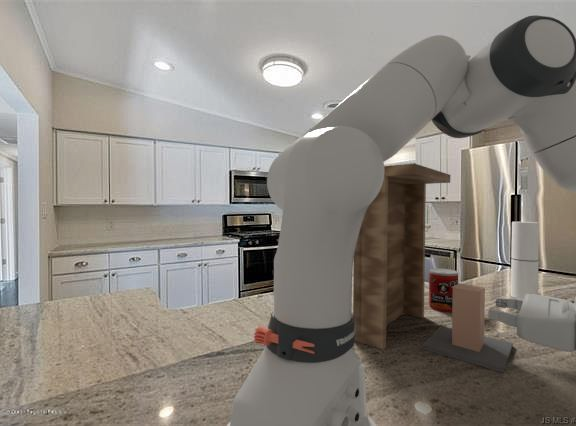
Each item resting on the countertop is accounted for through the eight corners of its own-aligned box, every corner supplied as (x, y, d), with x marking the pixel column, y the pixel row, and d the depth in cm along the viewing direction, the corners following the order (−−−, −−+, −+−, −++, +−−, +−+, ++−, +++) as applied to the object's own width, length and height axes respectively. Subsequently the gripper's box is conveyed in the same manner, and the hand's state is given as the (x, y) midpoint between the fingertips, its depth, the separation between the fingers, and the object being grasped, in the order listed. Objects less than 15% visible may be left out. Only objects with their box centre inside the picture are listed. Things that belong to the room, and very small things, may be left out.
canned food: (428, 309, 89) (428, 272, 89) (429, 302, 96) (430, 267, 96) (458, 314, 85) (458, 274, 85) (457, 306, 92) (458, 269, 92)
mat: (512, 346, 65) (512, 342, 65) (503, 372, 55) (504, 368, 55) (441, 329, 75) (441, 325, 75) (422, 348, 64) (422, 345, 64)
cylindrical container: (505, 295, 104) (507, 221, 104) (518, 293, 107) (519, 221, 107) (529, 301, 98) (531, 222, 97) (542, 298, 101) (543, 222, 100)
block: (484, 343, 65) (485, 287, 65) (479, 351, 61) (480, 292, 61) (457, 337, 68) (458, 283, 68) (451, 344, 64) (452, 287, 64)
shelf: (448, 322, 79) (450, 174, 78) (412, 359, 60) (414, 163, 59) (398, 310, 88) (400, 177, 87) (352, 339, 68) (354, 168, 68)
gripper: (584, 293, 61) (499, 282, 70) (594, 322, 45) (484, 303, 54) (583, 325, 61) (499, 309, 70) (593, 365, 45) (483, 338, 54)
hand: (492, 307), depth 62 cm, fingers open, 8 cm apart
